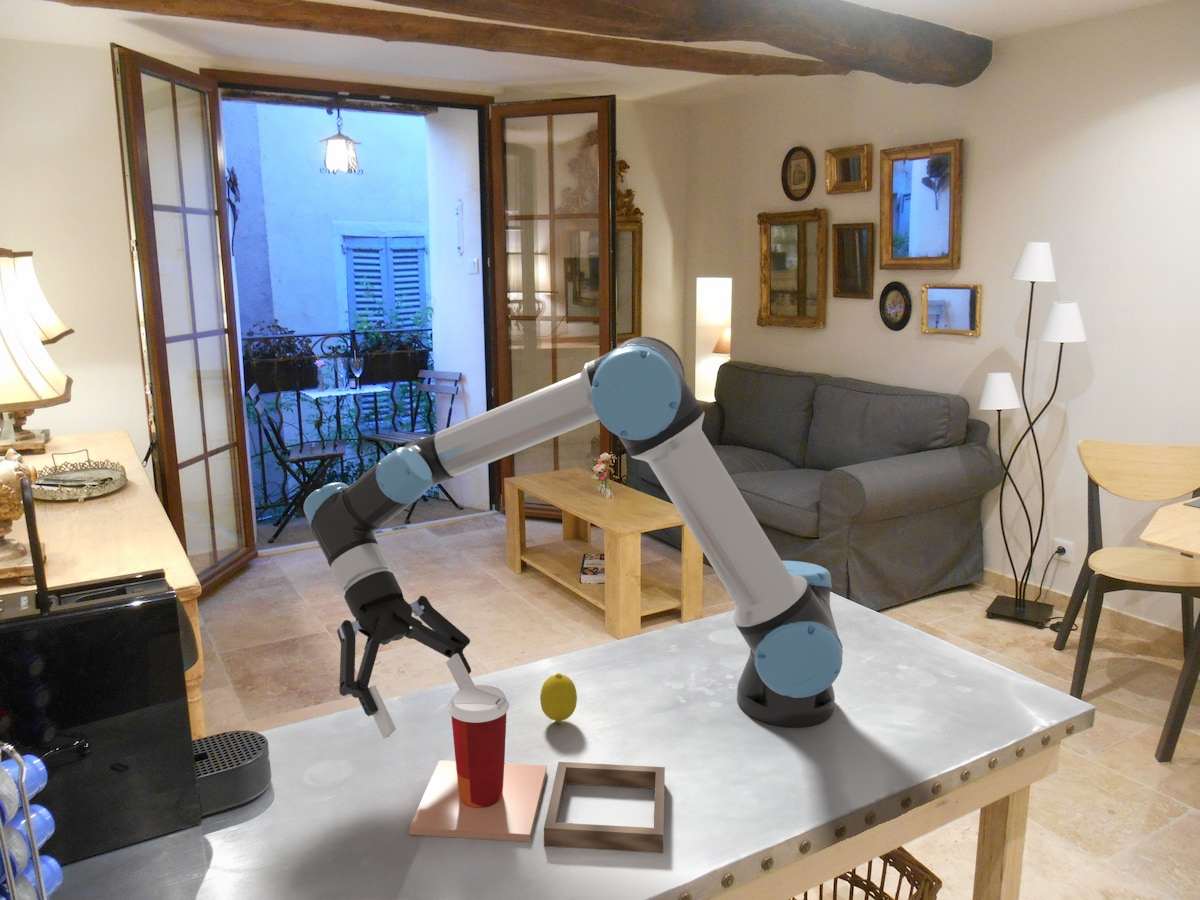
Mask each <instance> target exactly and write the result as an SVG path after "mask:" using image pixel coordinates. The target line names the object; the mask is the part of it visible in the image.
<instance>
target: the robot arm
mask: <svg viewBox="0 0 1200 900" xmlns="http://www.w3.org/2000/svg"><path fill="white" fill-rule="evenodd" d="M685 378H686V373H685V368H684V364H683V361H682V358H681V357H680V356H679V354H678V351H676V350H675V349H674V348H673V346H671V345H670V344H669V343H667V342H665V341H663V340H661V339H659V338H656V337H651V336H637V337H633V338H631V339H628V340H625V341H624V342H622V343H620V344H619V345H618V346H617V347H615V348H613V349H612V350H610V351H609V352H606V353H605V354H604V355H601V356H599V357H597V358H595V359H593V360H590V361H588V362H586V363H584V366H583V368H582V371H581V372H579V373H577V374H575V375H572V376H570V377H568V378H565V379H562V380H560V381H557V382H555V383H552V384H550V385H548V386H545V387H542V388H540V389H538V390H535V391H534V392H530V393H528V394H526V395H524V396H521V397H518V398H517V399H514V400H512V401H509V402H507V403H505V404H503V405H499V406H497V407H495V408H492V409H489V410H488V411H485V412H483V413H480V414H478V415H476V416H474V417H470V418H468V419H465V420H464V421H461V422H459V423H456V424H454V425H452V426H449V427H447V428H444V429H442V430H439V431H437V432H436V433H433V434H431V435H428V436H424V437H418V438H416V439H413V440H411V441H409V442H407V443H406V444H405V445H404V446H400V447H398V448H396V449H394V450H393V451H391V452H390V453H388V454H386V455H385V456H384V457H382V458H381V459H380V460H379V461H378V462H377V463H376V464H374V466H372V467H371V468H370V469H369V470H367V471H366V472H364V474H362V476H360V477H359V478H358V479H357V480H355V481H353V483H351V484H350V485H348V484H346V483H344V482H340V481H339V482H330V483H327V484H324V485H323V486H322V487H321V488H319V489H315V490H314V491H313V492H310V494H309V495H308V496H307V497H306V498H305V501H304V503H303V512H304V515H305V518H306V520H307V521H308V523H309V530H310V532H311V533H312V534H313V536H314V537H315V539H316V541H317V543H318V544H319V548H320V549H321V551H322V553H323V555H324V557H325V559H326V561H327V564H328V566H329V567H330V570H331V573H332V575H333V577H334V579H335V581H336V584H337V585H338V587H339V589H340V591H341V592H342V593H344V595H343V596H344V600H345V602H346V604H347V606H348V609H349V610H350V613H351V614H352V616H353V618H355V621H351V620H349V619H346V620H343V622H342V623H341V624H340V626H339V627H338V629H336V633H337V636H338V639H339V642H340V657H339V658H340V663H339V690H338V691H339V694H340V695H341V696H342V697H345V696H348V695H351V696H352V697H353V698H355V699H357V698H358V702H359V703H360V705H361V707H362V709H363V711H364V714H365V715H366V716H367V717H371V716H372V717H373V719H374V722H375V724H376V726H377V728H378V730H379V732H380V734H381V737H382V739H384V740H385V739H387V738H389V737H390V736H391V735H392V734H393V733H394V731H396V730H397V728H396V725H395V723H394V722H393V720H392V718H391V716H390V715H391V714H390V713H389V711H388V708H387V707H386V705H385V702H384V701H383V698H382V696H381V694H380V693H379V690H378V688H377V685H376V684H373V685H371V686H369V684H370V679H371V677H372V673H373V669H374V666H375V661H376V658H377V655H378V651H379V648H380V645H382V646H385V645H388V644H389V643H391V642H392V641H393V642H394V641H400V640H402V639H403V638H404V637H405V638H407V639H409V640H412V639H413V640H415V641H417V642H418V643H421V644H422V645H423V646H426V647H427V648H430V649H432V650H433V651H435V652H437V653H438V654H441V655H443V656H445V657H446V658H448V660H447V661H446V662H445V663H446V666H447V668H448V669H449V672H450V674H451V676H452V677H453V679H454V681H455V684H456V686H457V688H458V689H459V690H461V689H463V688H466V687H470V686H474V685H475V684H474V681H473V679H472V678H471V676H470V674H471V673H472V668H471V666H470V664H469V662H468V660H467V659H466V657H465V654H464V649H465V648H466V647H467V646H469V644H470V643H471V639H470V638H469V637H468V636H467V635H466V634H465V633H464V632H462V630H460V629H459V628H458V627H457V626H455V625H454V624H453V623H452V622H451V621H450V620H448V619H447V618H446V617H444V615H442V614H441V613H440V612H439V611H438V610H437V609H435V608H434V607H433V606H432V604H431V603H430V601H429V600H428V598H427V597H426V596H424V595H420V596H419V598H417V600H415V601H413V602H411V603H408V602H407V601H406V599H405V598H404V595H403V591H402V589H401V587H400V585H399V582H398V580H397V579H396V577H395V575H394V573H393V572H391V571H390V570H391V566H390V564H389V562H388V561H387V558H386V556H385V554H384V552H383V551H382V549H381V547H380V545H379V543H378V541H377V538H376V537H375V533H374V532H375V531H377V530H378V529H380V528H382V527H383V526H384V525H385V524H386V523H387V522H389V521H390V520H391V519H393V518H394V517H396V516H397V515H398V514H399V513H401V512H402V511H404V510H405V509H406V508H407V507H408V506H410V505H411V504H412V503H415V502H416V501H418V500H419V499H420V498H421V497H423V495H424V494H425V493H426V492H427V491H428V490H429V489H431V488H432V487H434V486H437V485H439V484H442V483H445V482H446V481H449V480H451V479H454V478H455V477H458V476H461V475H463V474H465V473H468V472H470V471H472V470H475V469H478V468H480V467H483V466H485V465H489V464H491V463H493V462H495V461H498V460H500V459H502V458H506V457H508V456H510V455H513V454H516V453H518V452H520V451H524V450H526V449H527V448H531V447H533V446H535V445H538V444H540V443H543V442H546V441H548V440H551V439H553V438H556V437H558V436H561V435H563V434H566V433H569V432H572V431H573V430H576V429H579V428H581V427H583V426H587V425H589V424H591V423H595V422H596V421H600V422H601V424H602V425H603V426H604V427H605V428H606V429H607V430H608V431H609V432H611V433H612V434H614V435H616V436H617V437H618V438H619V440H620V441H621V443H622V445H623V446H624V448H625V449H626V451H627V453H628V454H629V455H630V457H631V458H632V459H634V460H640V461H642V462H645V463H647V464H648V465H649V467H650V469H651V470H652V471H653V473H654V475H655V477H656V478H657V479H658V481H659V483H660V484H661V487H662V488H663V489H664V491H665V493H666V494H667V496H668V497H669V499H670V500H671V502H672V503H673V506H674V507H675V509H676V510H677V512H678V513H679V515H680V517H681V519H682V520H683V522H684V523H685V525H686V527H687V528H688V530H689V531H690V533H691V535H692V536H693V537H694V540H695V541H696V543H697V544H698V546H699V547H700V549H701V551H702V553H703V554H704V555H705V557H706V558H707V560H708V562H709V564H710V565H711V567H712V568H713V570H714V572H715V573H716V575H717V576H718V578H719V580H720V581H721V583H722V584H723V586H724V588H725V589H726V591H727V592H728V594H729V596H730V597H731V599H732V601H733V602H734V605H735V608H734V612H733V616H732V620H733V622H734V624H735V626H736V628H737V629H738V631H739V632H740V634H741V636H742V638H743V639H744V641H745V643H746V644H747V645H748V648H749V651H750V652H749V656H748V659H747V660H746V663H745V665H744V669H743V671H742V673H741V675H740V678H739V681H738V682H737V689H736V691H737V692H736V702H737V705H738V707H739V708H740V709H741V710H742V711H743V712H744V713H746V714H747V715H748V716H750V717H752V718H754V719H755V720H757V721H761V722H762V723H763V722H764V723H766V724H770V725H775V726H781V727H791V728H797V727H798V728H800V727H801V728H803V727H809V726H815V725H818V724H821V723H823V722H825V721H827V720H828V719H830V718H831V716H832V715H833V713H834V710H835V700H836V698H835V697H836V696H835V692H834V687H833V683H835V681H836V680H837V678H838V676H839V674H840V673H841V670H842V665H843V644H842V642H841V638H839V633H838V631H837V626H836V624H835V619H834V616H833V613H832V609H831V589H832V588H833V584H832V574H831V572H830V571H829V570H828V569H827V568H826V567H823V566H821V565H819V564H815V563H810V562H806V561H805V562H804V561H798V560H797V561H796V560H782V559H781V558H780V556H779V554H778V553H777V550H776V549H775V547H774V546H773V544H772V543H771V541H770V540H769V538H768V536H767V535H766V533H765V531H764V530H763V528H762V526H761V525H760V523H759V521H758V520H757V518H756V517H755V515H754V513H753V512H752V510H751V508H750V507H749V505H748V503H747V502H746V500H745V498H744V497H743V495H742V494H741V492H740V490H739V489H738V487H737V485H736V483H735V482H734V481H733V478H732V477H731V476H730V474H729V472H728V470H727V469H726V468H725V465H724V464H723V462H722V461H721V459H720V457H719V456H718V454H717V452H716V451H715V449H714V447H713V446H712V444H711V443H710V441H709V439H708V438H707V436H706V434H705V433H704V431H703V429H702V427H703V426H702V425H703V422H704V418H705V414H706V413H705V411H704V409H703V408H702V406H701V405H700V403H699V401H698V400H697V398H696V396H695V394H694V393H693V391H692V389H691V387H689V384H688V383H687V381H686V379H685ZM413 614H414V616H413ZM416 617H419V619H421V620H419V619H418V618H416ZM423 623H425V625H424V624H423ZM426 625H427V626H426ZM410 627H411V628H410ZM358 632H359V633H360V634H362V635H363V636H365V637H367V639H366V642H365V646H364V649H363V650H364V653H363V656H362V659H361V662H360V665H359V669H358V673H357V677H355V674H356V672H355V671H356V668H355V667H356V636H357V635H358ZM355 678H356V680H355Z"/></svg>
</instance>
